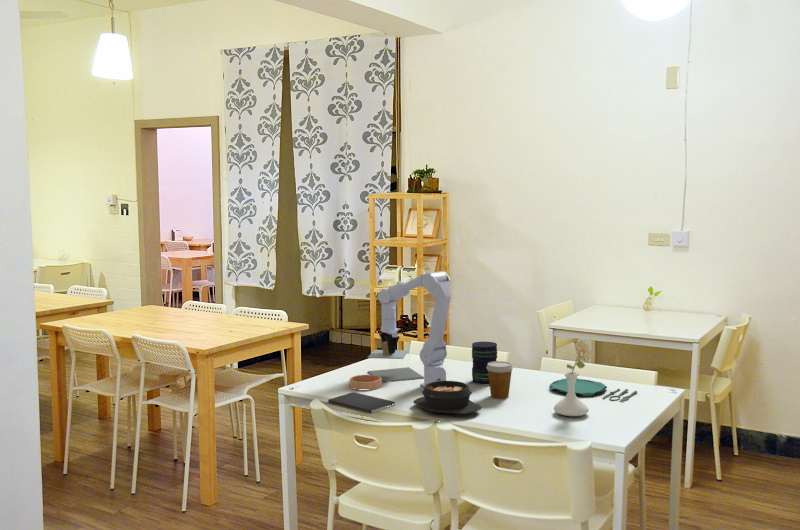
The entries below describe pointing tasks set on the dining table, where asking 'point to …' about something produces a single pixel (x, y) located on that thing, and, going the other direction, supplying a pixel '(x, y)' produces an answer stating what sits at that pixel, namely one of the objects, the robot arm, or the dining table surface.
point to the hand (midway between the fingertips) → (389, 351)
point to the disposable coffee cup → (499, 378)
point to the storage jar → (482, 361)
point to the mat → (396, 374)
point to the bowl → (365, 382)
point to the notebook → (361, 402)
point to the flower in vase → (571, 402)
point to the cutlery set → (587, 388)
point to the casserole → (447, 398)
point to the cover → (385, 353)
